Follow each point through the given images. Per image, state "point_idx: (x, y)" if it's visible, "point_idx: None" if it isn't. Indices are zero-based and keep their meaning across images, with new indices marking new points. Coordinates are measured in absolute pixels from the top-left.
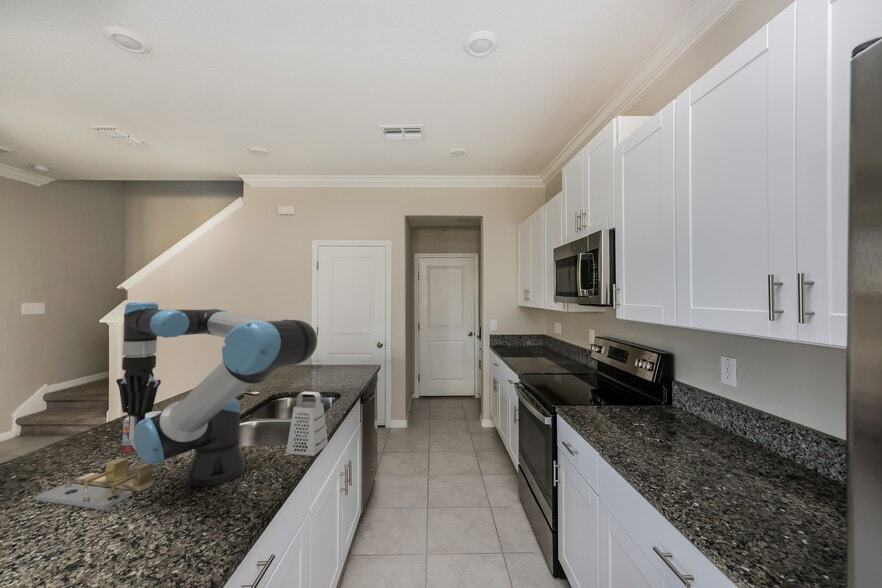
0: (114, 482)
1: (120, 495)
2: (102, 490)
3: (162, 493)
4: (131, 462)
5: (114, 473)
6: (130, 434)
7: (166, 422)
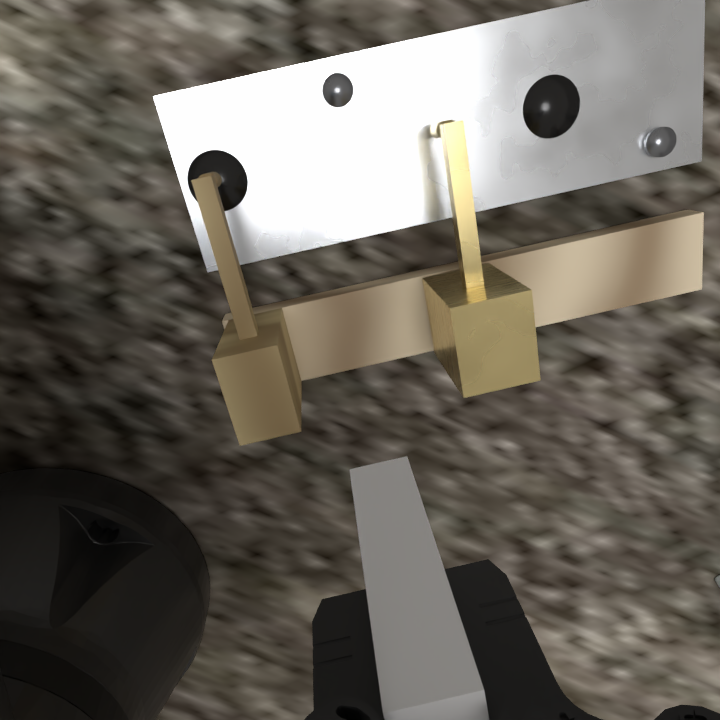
0: None
1: None
2: (389, 202)
3: (81, 354)
4: (659, 468)
5: (433, 292)
6: (399, 489)
7: None
